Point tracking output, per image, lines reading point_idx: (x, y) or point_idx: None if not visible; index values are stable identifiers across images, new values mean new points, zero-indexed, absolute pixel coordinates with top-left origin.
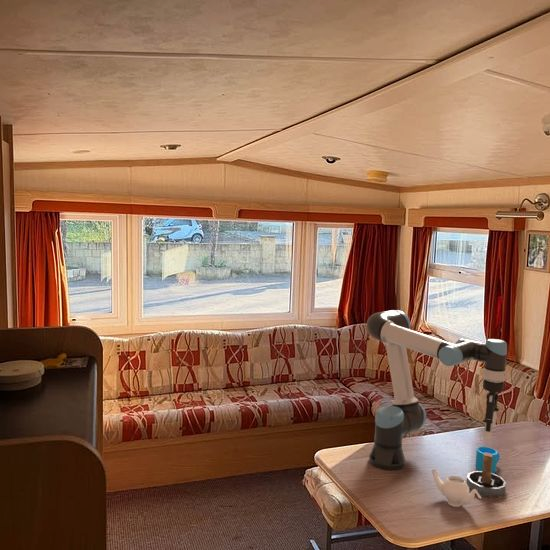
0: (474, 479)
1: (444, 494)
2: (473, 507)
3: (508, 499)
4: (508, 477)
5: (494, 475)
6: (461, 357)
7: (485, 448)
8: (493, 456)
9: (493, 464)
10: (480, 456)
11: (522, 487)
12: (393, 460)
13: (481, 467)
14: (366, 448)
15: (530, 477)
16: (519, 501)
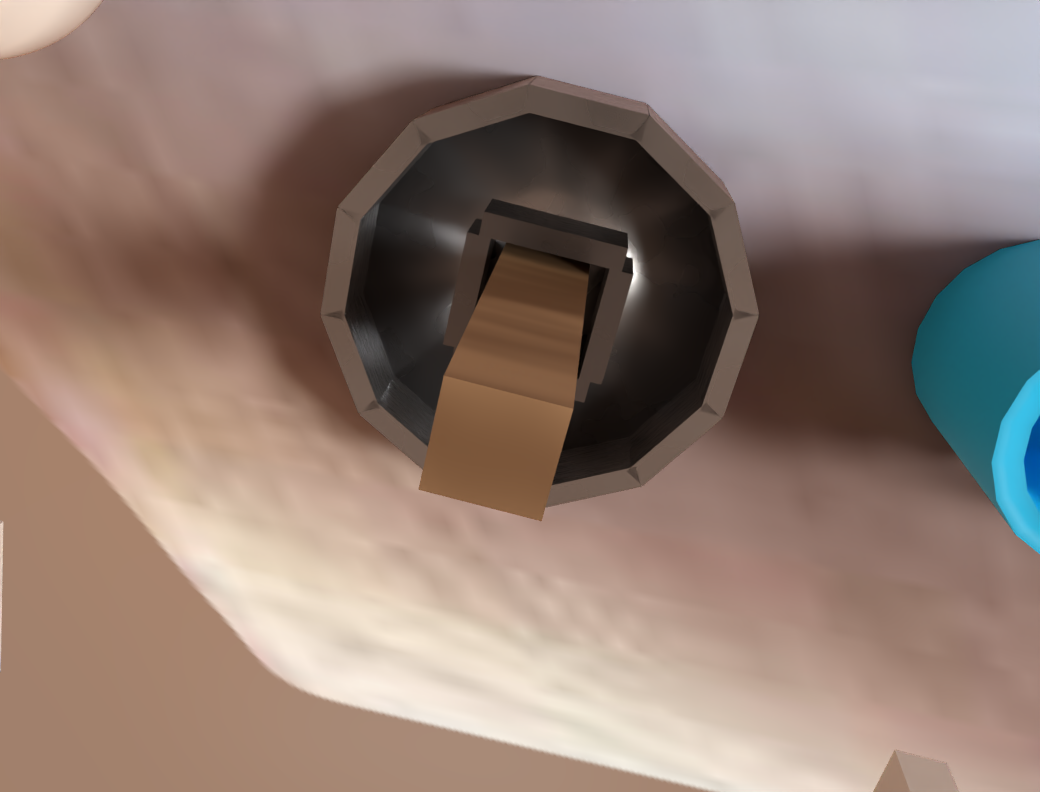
0: (670, 186)
1: None
2: (73, 104)
3: (376, 458)
4: (854, 546)
5: (683, 420)
6: None
7: None
8: (995, 503)
9: (961, 459)
10: (1034, 334)
11: (662, 621)
12: None
13: (958, 308)
14: None
15: (895, 730)
16: (375, 541)
